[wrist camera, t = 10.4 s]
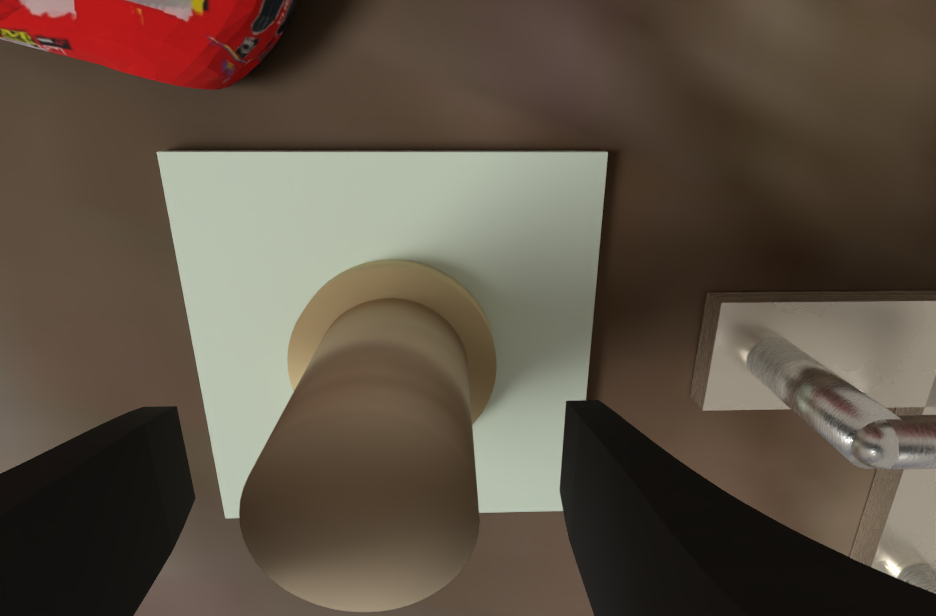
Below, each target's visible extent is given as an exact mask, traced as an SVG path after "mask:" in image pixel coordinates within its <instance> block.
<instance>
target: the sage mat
mask: <svg viewBox="0 0 936 616" xmlns="http://www.w3.org/2000/svg"><path fill="white" fill-rule="evenodd" d="M157 156H158V161H159V167H160V172H161V177H162V183H163V188H164V193H165V199H166V204H167V209H168V215H169V220H170V226H171V231H172V236H173V242H174V247H175V252H176V258H177V263H178V268H179V274H180V279H181V284H182V290H183V295H184V300H185V306H186V311H187V316H188V322H189V327H190V332H191V338H192V343H193V348H194V354H195V359H196V364H197V370H198V375H199V380H200V386H201V391H202V396H203V402H204V407H205V412H206V418H207V423H208V428H209V434H210V439H211V444H212V450H213V455H214V460H215V466H216V471H217V477H218V482H219V487H220V493H221V498H222V503H223V509H224V514H225V518H239V508H240V499H241V495H242V491H243V487H244V485H245V483H246V480H247V478H248V476H249V474H250V472H251V470H252V468H253V467H254V465H255V463H256V461H257V459H258V457H259V455H260V454H261V452H262V450H263V448H264V446H265V444H266V442H267V441H268V439H269V437H270V435H271V433H272V431H273V429H274V428H275V426H276V424H277V422H278V420H279V418H280V416H281V415H282V413H283V411H284V409H285V407H286V405H287V403H288V402H289V400H290V398H291V396H292V394H293V392H294V391H293V389H292V386H291V383H290V378H289V373H288V362H287V356H288V345H289V341H290V337H291V334H292V331H293V329H294V326H295V324H296V321H297V320H298V318H299V317H300V315H301V313H302V312H303V310H304V309H305V307H306V306H307V304H308V303H309V301H310V300H311V299H312V297H313V296H314V295H315V294H316V293H317V291H318V290H319V289H320V288H321V287H322V286H323V285H325V284H326V283H327V282H328V281H329V280H330V279H332V278H333V277H335V276H336V275H338V274H339V273H341V272H343V271H345V270H347V269H349V268H351V267H354V266H357V265H360V264H363V263H367V262H372V261H377V260H390V259H394V260H407V261H412V262H418V263H421V264H425V265H428V266H431V267H433V268H435V269H438V270H440V271H442V272H444V273H446V274H447V275H449V276H450V277H452V278H454V279H455V280H456V281H458V282H459V283H460V284H461V285H462V286H464V287H465V288H466V289H467V290H468V291H469V292H470V293H471V294H472V296H473V297H474V298H475V299H476V301H477V302H478V303H479V305H480V306H481V308H482V310H483V312H484V314H485V315H486V317H487V320H488V323H489V325H490V328H491V332H492V337H493V342H494V347H495V352H496V365H497V369H496V379H495V384H494V388H493V391H492V394H491V396H490V399H489V401H488V403H487V405H486V407H485V409H484V410H483V412H482V414H481V415H480V416H479V417H478V419H477V420H476V421H475V423H474V424H473V425H472V428H473V441H474V454H475V467H476V480H477V493H478V506H479V513H487V512H533V511H563V507H562V501H561V496H560V477H561V464H562V450H563V436H564V423H565V409H566V401H578V400H586V394H587V383H588V371H589V360H590V349H591V338H592V327H593V315H594V304H595V293H596V282H597V270H598V259H599V248H600V237H601V226H602V214H603V203H604V192H605V181H606V169H607V158H608V152H606V151H287V150H165V151H159V152H157Z"/></svg>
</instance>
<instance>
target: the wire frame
mask: <svg viewBox="0 0 936 616" xmlns="http://www.w3.org/2000/svg"><path fill="white" fill-rule="evenodd" d="M690 396H691V397H692V398H693V400H694V401H695V402H696V403H697V404H698V406H699V407H700V408H701V409H702V410H703V411H708V410H771V409H791V410H793V411H794V412H795V413H796V414H797V415H798V416H799V417H800V418H802V419H803V420H804V421H805V422H806V423H807V424H808V425H810V426H811V427H812V428H813V429H814V430H815V431H816V432H817V433H819V434H820V435H821V436H822V437H823V438H824V439H825V440H826V441H828V442H829V443H830V444H831V445H832V446H833V447H834V448H836V449H837V450H838V451H839V452H840V453H841V454H842V455H843V456H845V457H846V458H847V459H848V460H849V461H850V462H851V463H853V464H854V465H855V466H858V467H861V468H866V469H871V468H874V469H877V472H876V475H875V478H874V481H873V484H872V487H871V491H870V494H869V497H868V500H867V503H866V506H865V510H864V513H863V516H862V519H861V522H860V526H859V529H858V532H857V535H856V538H855V541H854V545H853V548H852V551H851V554H850V558H852V559H854V560H856V561H858V562H861V563H863V564H865V565H867V566H870V567H872V568H874V569H877V570H879V571H881V572H884V573H886V574H888V575H891V576H893V577H895V578H898V579H900V580H902V581H905V582H907V583H910V584H912V585H915V586H917V587H920V588H922V589H925V590H927V591H930V592H933V593H935V594H936V290H928V291H806V292H707V295H706V301H705V307H704V313H703V319H702V325H701V331H700V337H699V344H698V350H697V356H696V362H695V368H694V374H693V380H692V386H691V392H690ZM886 408H896V411H895V414H894V413H892V412H891V411H889V410H888V409H886Z"/></svg>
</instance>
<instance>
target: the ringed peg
mask: <svg viewBox="0 0 936 616" xmlns="http://www.w3.org/2000/svg"><path fill="white" fill-rule="evenodd" d="M287 362H288V373H289V378H290V383H291V386H292V389H293V391H294V392H293V394H292V396H291V398H290V400H289V402H288V403H287V405H286V407H285V409H284V411H283V413H282V415H281V416H280V418H279V420H278V422H277V424H276V426H275V428H274V429H273V431H272V433H271V435H270V437H269V439H268V441H267V442H266V444H265V446H264V448H263V450H262V452H261V454H260V455H259V457H258V459H257V461H256V463H255V465H254V467H253V468H252V470H251V472H250V474H249V476H248V478H247V480H246V483H245V485H244V487H243V491H242V495H241V499H240V508H239V518H240V527H241V531H242V535H243V539H244V541H245V543H246V545H247V548H248V550H249V552H250V553H251V555H252V557H253V558H254V560H255V562H256V563H257V564H258V565H259V566H260V568H261V569H262V570H263V571H264V572H265V573H266V574H267V575H268V576H269V577H270V578H271V579H272V580H273V581H274V582H276V583H277V584H278V585H280V586H281V587H282V588H284V589H285V590H287V591H289V592H290V593H292V594H294V595H295V596H297V597H299V598H302V599H304V600H306V601H308V602H311V603H314V604H317V605H320V606H323V607H327V608H331V609H336V610H342V611H350V612H376V611H385V610H391V609H397V608H400V607H404V606H407V605H410V604H413V603H415V602H418V601H420V600H423V599H425V598H427V597H428V596H430V595H432V594H434V593H436V592H437V591H439V590H440V589H441V588H443V587H444V586H446V585H447V584H448V583H449V582H450V581H451V580H452V579H453V578H455V577H456V575H457V574H458V573H459V572H460V571H461V570H462V568H463V567H464V566H465V564H466V562H467V561H468V559H469V558H470V556H471V554H472V551H473V549H474V547H475V544H476V540H477V537H478V532H479V521H480V520H479V506H478V493H477V480H476V467H475V454H474V441H473V428H472V425H473V424H474V423H475V421H476V420H477V419H478V417H479V416H480V415H481V414H482V412H483V410H484V409H485V407H486V405H487V403H488V401H489V399H490V396H491V394H492V391H493V388H494V384H495V379H496V369H497V365H496V352H495V347H494V342H493V337H492V332H491V328H490V325H489V323H488V320H487V317H486V315H485V314H484V312H483V310H482V308H481V306H480V305H479V303H478V302H477V301H476V299H475V298H474V297H473V296H472V294H471V293H470V292H469V291H468V290H467V289H466V288H465V287H464V286H462V285H461V284H460V283H459V282H458V281H456V280H455V279H454V278H452V277H450V276H449V275H447V274H446V273H444V272H442V271H440V270H438V269H435V268H433V267H431V266H428V265H425V264H421V263H418V262H412V261H407V260H394V259H390V260H377V261H372V262H367V263H363V264H360V265H357V266H354V267H351V268H349V269H347V270H345V271H343V272H341V273H339V274H338V275H336V276H335V277H333V278H332V279H330V280H329V281H328V282H327V283H326V284H325V285H323V286H322V287H321V288H320V289H319V290H318V291H317V293H316V294H315V295H314V296H313V297H312V299H311V300H310V301H309V303H308V304H307V306H306V307H305V309H304V310H303V312H302V313H301V315H300V317H299V318H298V320H297V321H296V324H295V326H294V329H293V331H292V334H291V337H290V341H289V345H288V356H287Z"/></svg>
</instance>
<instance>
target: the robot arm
mask: <svg viewBox="0 0 936 616" xmlns="http://www.w3.org/2000/svg"><path fill="white" fill-rule="evenodd" d="M560 496H561V501H562V507H563V512H564V517H565V522H566V527H567V531H568V536H569V541H570V544H571V547H572V550H573V553H574V556H575V559H576V562H577V565H578V568H579V571H580V574H581V577H582V580H583V583H584V586H585V589H586V592H587V595H588V598H589V601H590V604H591V607H592V610H593V613H594V616H936V594H935V593H933V592H930V591H927V590H925V589H922V588H920V587H917V586H915V585H912V584H910V583H907V582H905V581H902V580H900V579H898V578H895V577H893V576H891V575H888V574H886V573H884V572H881V571H879V570H877V569H874V568H872V567H870V566H867V565H865V564H863V563H861V562H858V561H856V560H854V559H852V558H850V557H848V556H846V555H844V554H841V553H839V552H837V551H835V550H833V549H831V548H829V547H827V546H824V545H822V544H820V543H818V542H816V541H814V540H812V539H810V538H808V537H806V536H804V535H802V534H800V533H798V532H796V531H794V530H792V529H790V528H788V527H786V526H784V525H783V524H781V523H779V522H777V521H775V520H774V519H772V518H770V517H768V516H766V515H765V514H763V513H761V512H759V511H758V510H756V509H754V508H752V507H750V506H749V505H747V504H745V503H743V502H742V501H740V500H738V499H737V498H735V497H733V496H732V495H730V494H728V493H727V492H725V491H724V490H722V489H720V488H719V487H717V486H716V485H714V484H713V483H711V482H710V481H708V480H707V479H705V478H704V477H702V476H701V475H699V474H698V473H696V472H695V471H693V470H692V469H690V468H689V467H687V466H686V465H685V464H683V463H682V462H680V461H679V460H677V459H676V458H675V457H673V456H672V455H670V454H669V453H668V452H666V451H665V450H664V449H662V448H661V447H660V446H658V445H657V444H656V443H654V442H653V441H652V440H650V439H649V438H648V437H646V436H645V435H644V434H642V433H641V432H640V431H639V430H637V429H636V428H635V427H633V426H632V425H631V424H630V423H628V422H627V421H626V420H624V419H623V418H622V417H621V416H619V415H618V414H617V413H615V412H614V411H613V410H612V409H610V408H609V407H608V406H606V405H605V404H603V403H602V402H600V401H599V400H578V401H566V409H565V423H564V436H563V450H562V464H561V477H560ZM194 500H195V494H194V489H193V484H192V479H191V474H190V470H189V465H188V460H187V455H186V450H185V445H184V440H183V435H182V430H181V425H180V421H179V416H178V411H177V406H174V407H142V408H139V409H136V410H133V411H131V412H128V413H126V414H123V415H121V416H119V417H117V418H114V419H112V420H110V421H108V422H106V423H104V424H101V425H99V426H97V427H95V428H93V429H91V430H89V431H87V432H85V433H83V434H81V435H79V436H77V437H75V438H73V439H71V440H69V441H67V442H65V443H63V444H61V445H59V446H57V447H55V448H53V449H51V450H48V451H46V452H44V453H42V454H40V455H38V456H36V457H34V458H32V459H30V460H28V461H26V462H24V463H22V464H20V465H18V466H16V467H14V468H12V469H10V470H7V471H5V472H3V473H1V474H0V616H133V615H134V614H135V612H136V611H137V609H138V607H139V606H140V604H141V602H142V601H143V599H144V597H145V596H146V594H147V593H148V591H149V589H150V588H151V586H152V584H153V583H154V581H155V579H156V578H157V576H158V574H159V573H160V571H161V569H162V568H163V566H164V564H165V563H166V561H167V559H168V557H169V556H170V554H171V552H172V551H173V549H174V547H175V544H176V542H177V540H178V538H179V536H180V533H181V531H182V529H183V527H184V525H185V522H186V520H187V517H188V515H189V513H190V510H191V508H192V505H193V503H194Z"/></svg>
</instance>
